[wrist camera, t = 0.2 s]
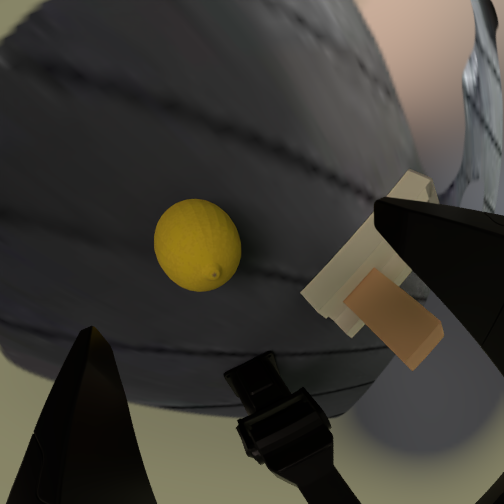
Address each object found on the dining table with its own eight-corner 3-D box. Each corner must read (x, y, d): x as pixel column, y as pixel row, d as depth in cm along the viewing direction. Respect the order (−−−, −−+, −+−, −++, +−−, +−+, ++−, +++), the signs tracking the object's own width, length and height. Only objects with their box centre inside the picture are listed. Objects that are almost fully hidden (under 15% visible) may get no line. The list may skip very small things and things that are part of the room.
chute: (336, 321, 38) (351, 337, 35) (300, 292, 32) (317, 312, 29) (426, 216, 36) (445, 227, 33) (409, 168, 30) (431, 178, 27)
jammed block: (348, 306, 35) (412, 371, 25) (331, 290, 32) (404, 363, 22) (375, 277, 34) (444, 335, 25) (361, 257, 31) (440, 321, 22)
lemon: (221, 242, 25) (262, 299, 18) (156, 259, 23) (176, 325, 17) (214, 178, 22) (258, 218, 15) (142, 194, 20) (153, 244, 14)
